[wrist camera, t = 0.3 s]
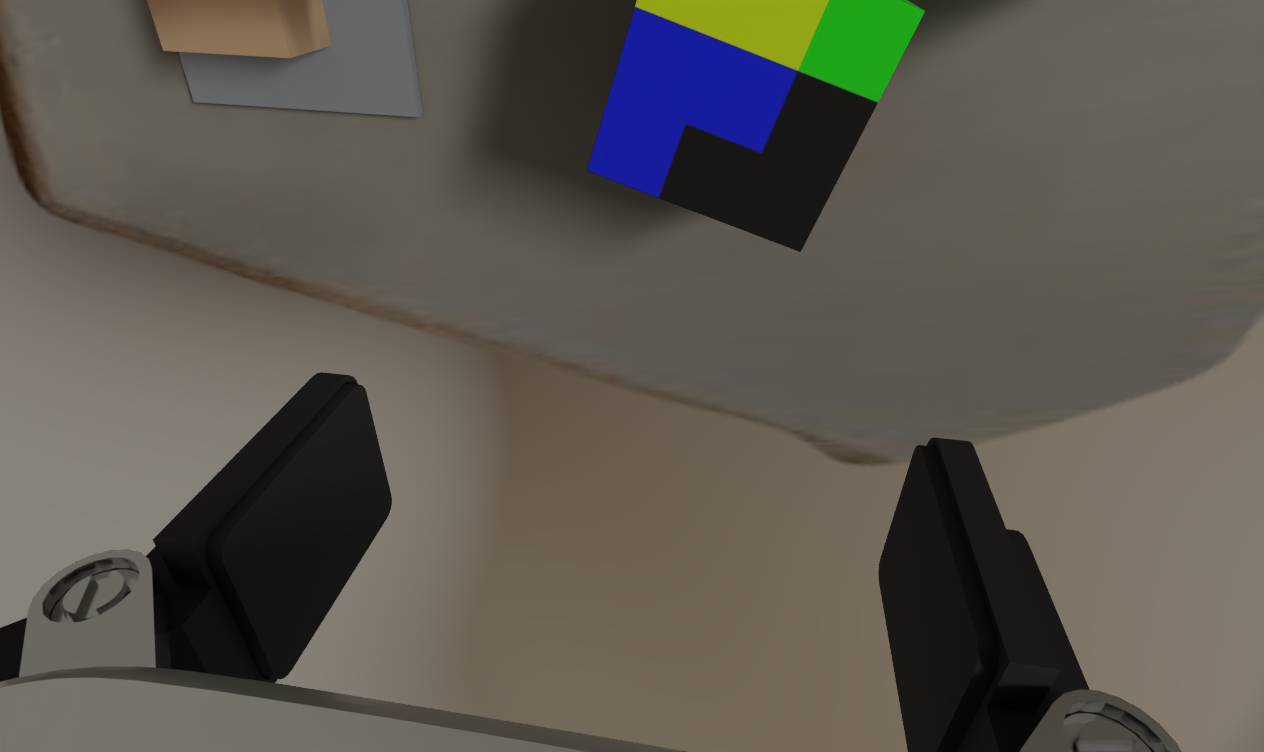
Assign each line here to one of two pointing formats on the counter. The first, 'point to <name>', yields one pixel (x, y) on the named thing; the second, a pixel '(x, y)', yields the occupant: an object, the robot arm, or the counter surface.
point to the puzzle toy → (748, 104)
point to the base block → (241, 26)
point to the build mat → (324, 67)
